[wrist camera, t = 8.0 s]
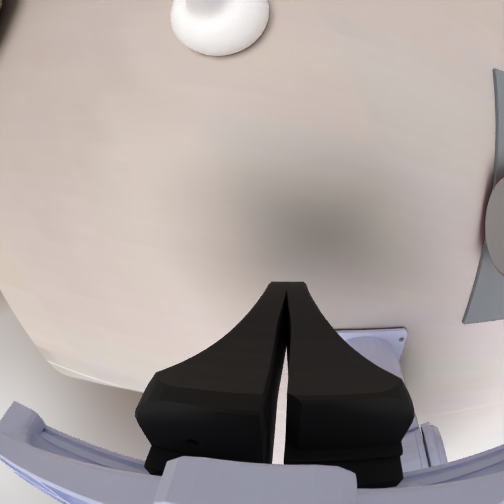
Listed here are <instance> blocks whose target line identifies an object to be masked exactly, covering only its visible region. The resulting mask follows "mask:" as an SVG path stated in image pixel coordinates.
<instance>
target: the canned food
mask: <svg viewBox="0 0 504 504" xmlns="http://www.w3.org/2000/svg"><path fill="white" fill-rule="evenodd" d="M485 235H486V243H487V247H488V251H489V254H490V257H491V260H492V262H493V264H494V266H495V267H496V269H497V270H498V271H499V273H501V274H502V275H503V276H504V177H503V178H501V179H500V180H499V182H498V183H497V184H496V186H495V187H494V189H493V191H492V193H491V196H490V198H489V202H488V206H487V211H486V219H485Z"/></svg>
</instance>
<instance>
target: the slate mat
mask: <svg viewBox="0 0 504 504" xmlns="http://www.w3.org/2000/svg"><path fill="white" fill-rule="evenodd" d="M493 75H494V87H495V104H496V149H495V167H494V179H493V188H492V191H493V189H494V187H495V186H496V184H497V183H498V182H499V180H500V179H501V178H503V177H504V72H503V71H501V70H498V69H493ZM502 319H504V276H503V275H502V274H501V273H499V271H498V270H497V269H496V267H495V266H494V264H493V262H492V260H491V257H490V254H489V251H488V247H487V243H486V235H485V240H484V245H483V250H482V254H481V259H480V263H479V267H478V271H477V275H476V279H475V282H474V286H473V289H472V293H471V296H470V299H469V303H468V306H467V309H466V312H465V315H464V318H463V321H462V322H463V324H470V323H479V322H487V321H495V320H502Z"/></svg>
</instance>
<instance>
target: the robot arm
mask: <svg viewBox="0 0 504 504" xmlns="http://www.w3.org/2000/svg"><path fill="white" fill-rule="evenodd" d="M407 335H408V332H407V330H406V329H405V328H398V329H378V330H346V331H335V330H334V329H333V327H332V326H331V325H330V324H329V323H328V321H327V320H326V319H325V317H324V316H323V314H322V313H321V312H320V310H319V308H318V307H317V305H316V304H315V302H314V300H313V299H312V297H311V295H310V293H309V291H308V288H307V286H306V284H305V283H304V282H271V283H270V284H269V285H268V287H267V288H266V290H265V292H264V293H263V295H262V296H261V297H260V299H259V300H258V302H257V303H256V304H255V305H254V307H253V308H252V309H251V310H250V312H249V313H248V314H247V315H246V316H245V317H244V318H243V319H242V320H241V321H240V322H239V323H238V324H237V325H236V326H235V327H234V328H233V329H232V330H231V331H230V332H229V333H228V334H226V335H225V336H224V337H223V338H221V339H220V340H219V341H217V342H216V343H214V344H213V345H212V346H210V347H209V348H207V349H206V350H204V351H202V352H200V353H199V354H197V355H195V356H193V357H191V358H189V359H187V360H185V361H183V362H181V363H179V364H177V365H174V366H172V367H169V368H167V369H164V370H162V371H159V372H156V373H155V375H154V376H153V378H152V379H151V381H150V382H149V384H148V386H147V387H146V389H145V391H144V393H143V395H142V398H141V399H140V402H139V404H138V406H137V408H136V411H135V417H136V419H137V422H138V424H139V426H140V427H141V429H142V431H143V432H144V434H145V435H146V437H147V438H148V440H149V442H150V443H151V445H152V446H151V449H150V451H149V454H148V456H147V459H146V461H142V460H139V459H135V458H132V457H129V456H125V455H122V454H119V453H116V452H113V451H109V450H107V449H104V448H101V447H98V446H95V445H92V444H90V443H87V442H84V441H82V440H79V439H77V438H74V437H72V436H70V435H67V434H65V433H63V432H60V431H58V430H55V429H53V428H51V427H49V426H47V425H46V424H45V422H44V421H43V420H42V418H41V417H40V416H39V415H38V414H37V413H36V412H35V411H33V410H32V409H30V408H28V407H26V406H24V405H22V404H20V403H18V402H16V401H14V402H13V403H12V405H11V406H10V408H9V409H8V410H7V412H6V413H5V415H4V416H3V418H2V419H1V420H0V460H1V461H2V462H4V463H5V464H6V465H7V466H8V467H9V468H10V469H12V470H13V471H14V472H15V473H16V474H17V475H19V476H20V477H21V478H22V479H24V480H25V481H27V482H28V483H30V484H31V485H33V486H35V487H36V488H37V489H39V490H41V491H42V492H44V493H45V494H47V495H49V496H51V497H52V498H54V499H56V500H57V501H59V502H61V503H63V504H504V444H503V445H501V446H498V447H495V448H493V449H490V450H487V451H484V452H481V453H478V454H475V455H472V456H469V457H466V458H463V459H459V460H456V461H452V462H449V463H448V462H447V457H446V453H445V449H444V445H443V441H442V438H441V435H440V432H439V430H438V428H437V427H436V426H434V425H430V423H429V422H426V423H424V424H421V431H422V436H423V439H422V436H421V432H420V429H419V425H418V421H417V417H416V414H415V413H414V407H413V403H412V400H411V397H410V395H409V393H408V391H407V388H406V385H405V381H404V378H403V375H402V372H401V368H400V365H399V361H400V358H401V355H402V352H403V348H404V345H405V342H406V338H407ZM401 337H403V338H401ZM399 338H401V339H399ZM286 346H287V361H288V389H287V413H286V438H285V452H284V465H282V464H272V458H273V446H274V434H275V423H276V411H277V399H278V392H279V386H280V381H281V375H282V369H283V364H284V358H285V352H286Z"/></svg>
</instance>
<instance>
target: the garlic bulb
mask: <svg viewBox="0 0 504 504" xmlns="http://www.w3.org/2000/svg"><path fill="white" fill-rule="evenodd" d="M170 19H171V25H172V28H173V31H174V33H175V35H176V36H177V37H178V39H179V40H180V41H181V42H182V43H183V44H184V45H185V46H187V47H188V48H190V49H192V50H194V51H196V52H198V53H202V54H206V55H213V56H224V55H229V54H233V53H236V52H239V51H241V50H243V49H245V48H247V47H249V46H250V45H251V44H253V43H254V42H255V41H256V40H257V39H258V38H259V37H260V35H261V34H262V33H263V31H264V29H265V27H266V25H267V22H268V19H269V5H268V1H267V0H174V2H173V5H172V8H171V13H170Z"/></svg>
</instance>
